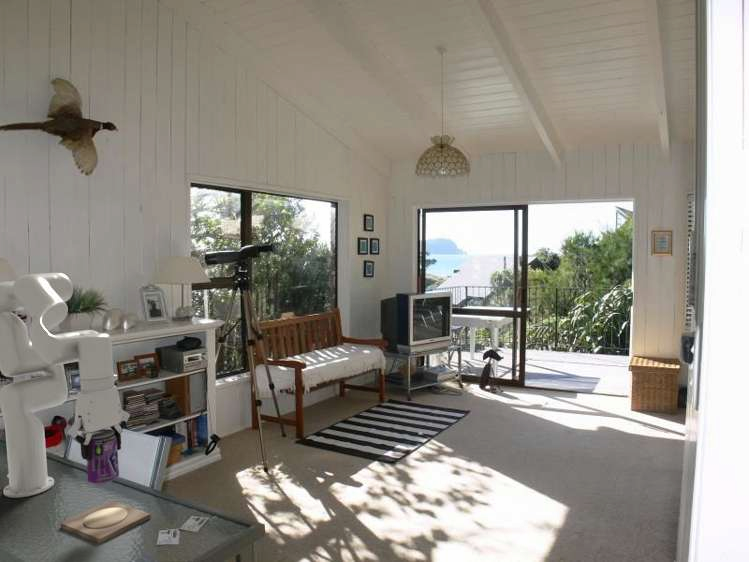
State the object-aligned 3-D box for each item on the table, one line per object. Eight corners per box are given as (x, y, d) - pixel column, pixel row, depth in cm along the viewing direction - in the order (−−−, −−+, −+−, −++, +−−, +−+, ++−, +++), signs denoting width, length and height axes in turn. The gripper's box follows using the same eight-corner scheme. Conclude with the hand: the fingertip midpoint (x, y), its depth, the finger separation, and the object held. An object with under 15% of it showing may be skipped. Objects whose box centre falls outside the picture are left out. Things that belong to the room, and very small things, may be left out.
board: (60, 527, 145) (60, 521, 145) (111, 504, 157) (111, 499, 157) (100, 543, 137) (99, 537, 137) (150, 518, 149) (150, 512, 149)
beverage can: (107, 486, 142) (104, 438, 141) (81, 485, 143) (78, 437, 142) (125, 475, 149) (122, 429, 148) (100, 473, 150) (97, 427, 149)
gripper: (119, 374, 154) (123, 440, 155) (54, 390, 139) (59, 463, 140) (137, 377, 150) (141, 445, 151) (72, 394, 135) (77, 469, 136)
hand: (102, 453), depth 146 cm, fingers closed on beverage can, 7 cm apart
